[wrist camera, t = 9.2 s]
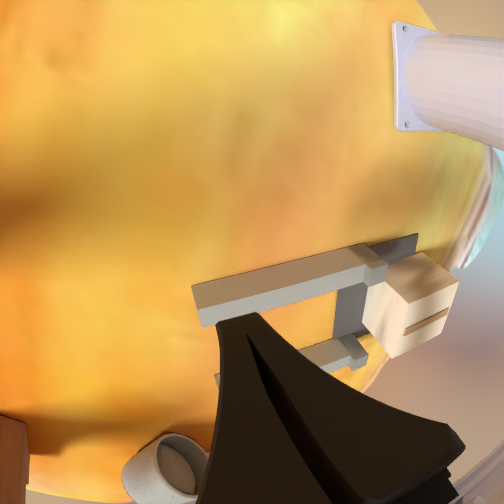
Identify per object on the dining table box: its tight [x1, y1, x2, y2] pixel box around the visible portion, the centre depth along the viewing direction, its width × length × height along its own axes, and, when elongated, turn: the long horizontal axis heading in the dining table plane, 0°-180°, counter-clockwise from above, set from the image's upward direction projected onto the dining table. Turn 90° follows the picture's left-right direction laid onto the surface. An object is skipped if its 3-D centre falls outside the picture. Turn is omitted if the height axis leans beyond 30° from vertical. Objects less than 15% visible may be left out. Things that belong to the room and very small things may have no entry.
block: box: [362, 252, 459, 358], centre depth 25 cm, size 6×6×5 cm
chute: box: [191, 243, 388, 390], centre depth 23 cm, size 13×11×3 cm
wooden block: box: [0, 415, 30, 504], centre depth 15 cm, size 9×4×18 cm, turn 150°
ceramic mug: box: [122, 433, 210, 504], centre depth 27 cm, size 11×8×8 cm
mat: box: [332, 233, 418, 340], centre depth 27 cm, size 8×10×1 cm
